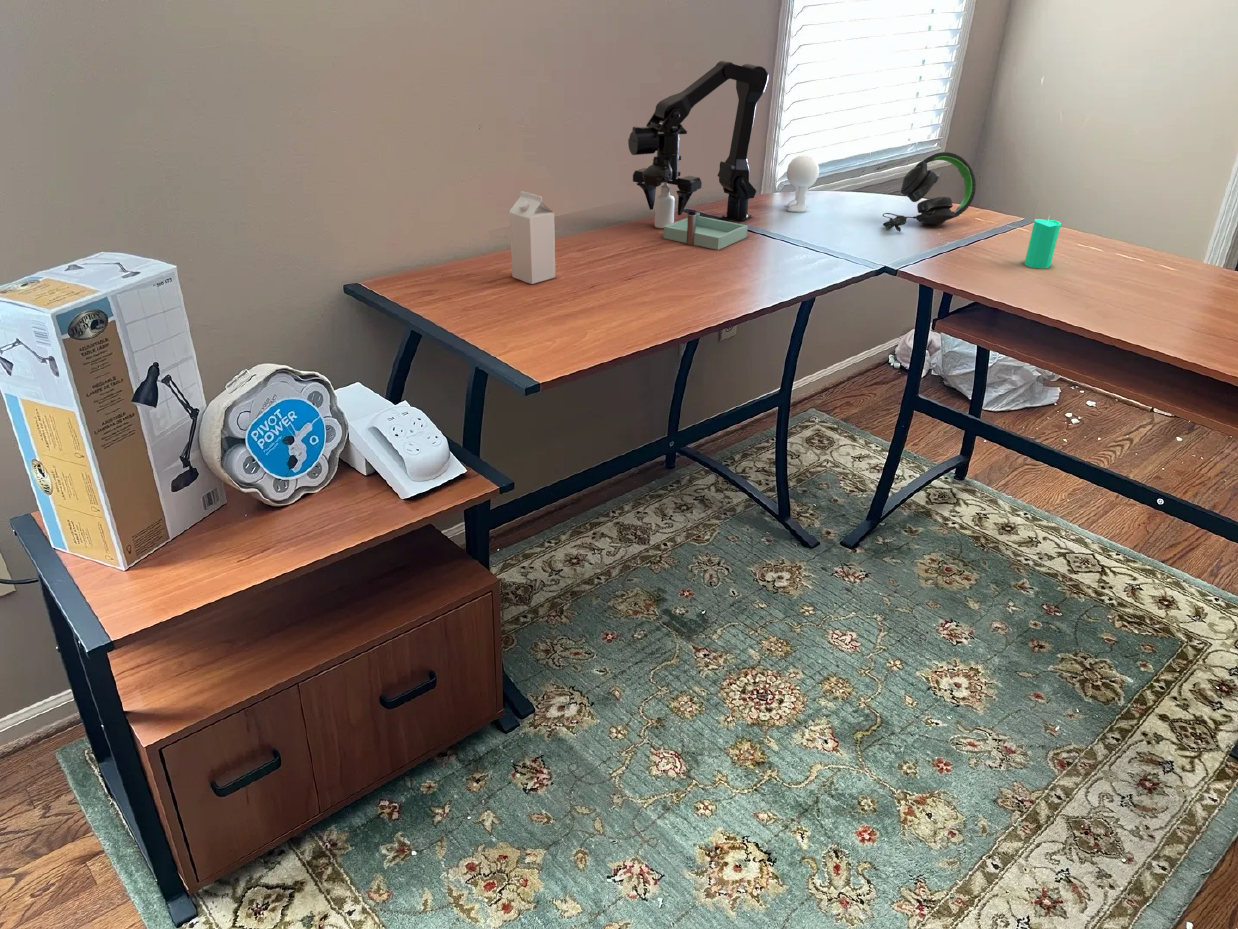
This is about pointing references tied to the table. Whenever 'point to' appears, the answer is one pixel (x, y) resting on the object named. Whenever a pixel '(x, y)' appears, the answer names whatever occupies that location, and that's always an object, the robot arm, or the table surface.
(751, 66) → the robot arm
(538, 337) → the table surface
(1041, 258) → the candle
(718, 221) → the green tray
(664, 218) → the eye dropper bottle
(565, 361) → the table surface
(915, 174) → the headset
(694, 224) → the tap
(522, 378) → the table surface
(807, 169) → the toy character
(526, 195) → the milk carton
